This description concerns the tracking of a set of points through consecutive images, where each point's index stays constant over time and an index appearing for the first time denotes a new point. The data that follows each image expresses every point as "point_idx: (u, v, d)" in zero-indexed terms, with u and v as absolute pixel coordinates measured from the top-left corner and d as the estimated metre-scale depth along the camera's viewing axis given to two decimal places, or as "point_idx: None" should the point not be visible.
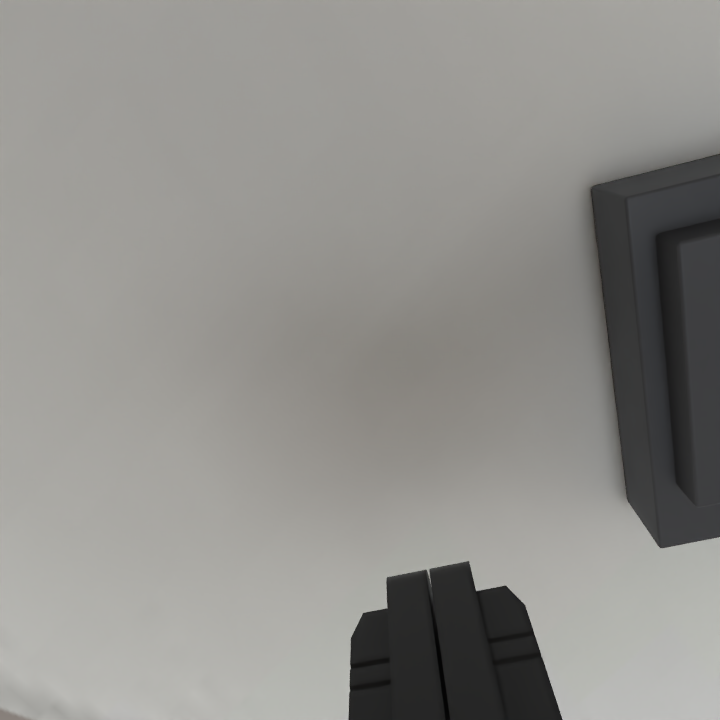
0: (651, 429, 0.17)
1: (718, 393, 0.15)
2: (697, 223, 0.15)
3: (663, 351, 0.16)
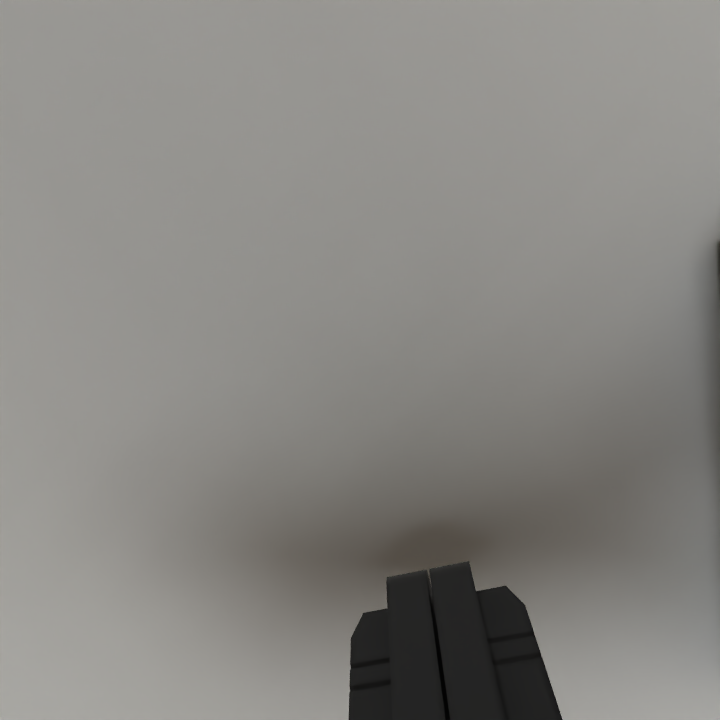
0: None
1: None
2: None
3: None
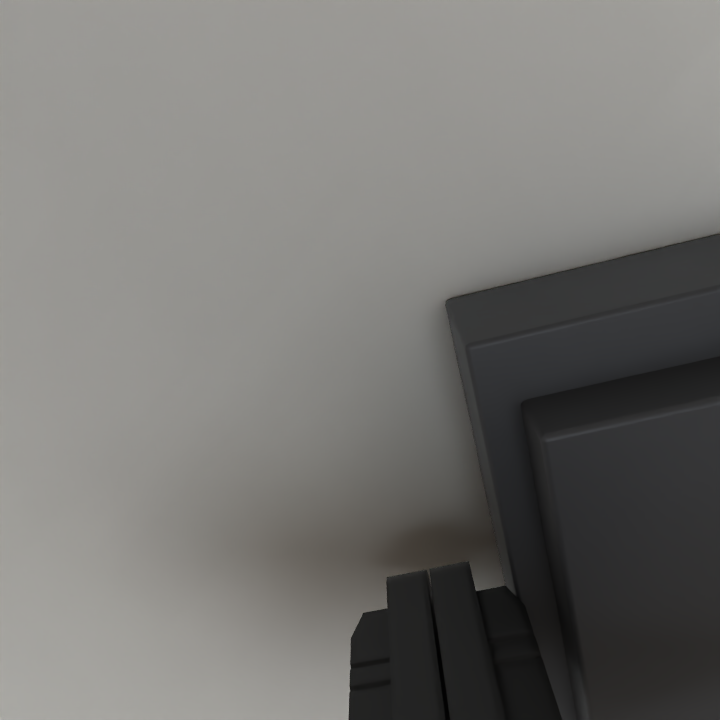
0: None
1: (627, 656, 0.09)
2: (589, 384, 0.09)
3: (548, 569, 0.10)
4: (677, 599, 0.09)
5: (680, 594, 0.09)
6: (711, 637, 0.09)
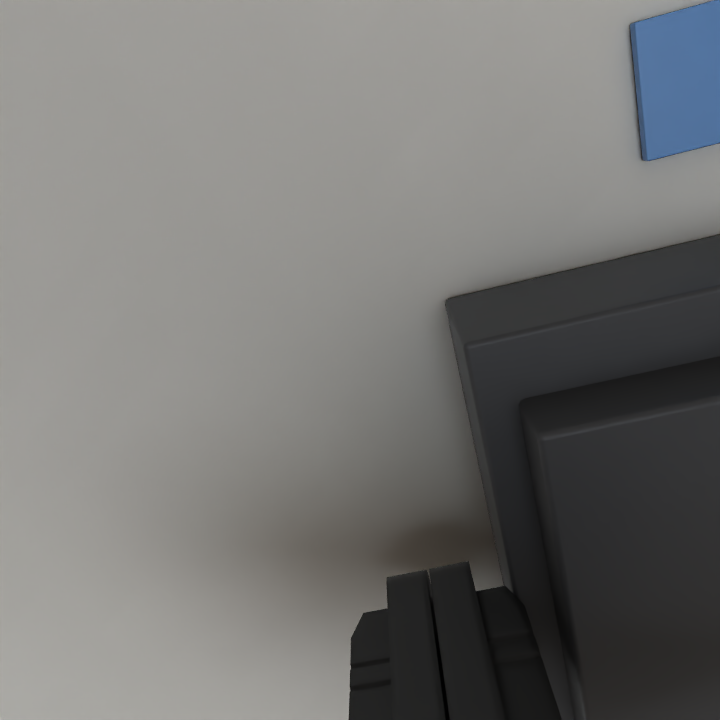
0: None
1: (623, 655, 0.09)
2: (587, 385, 0.09)
3: (545, 568, 0.10)
4: (673, 599, 0.09)
5: (677, 594, 0.09)
6: (707, 637, 0.09)
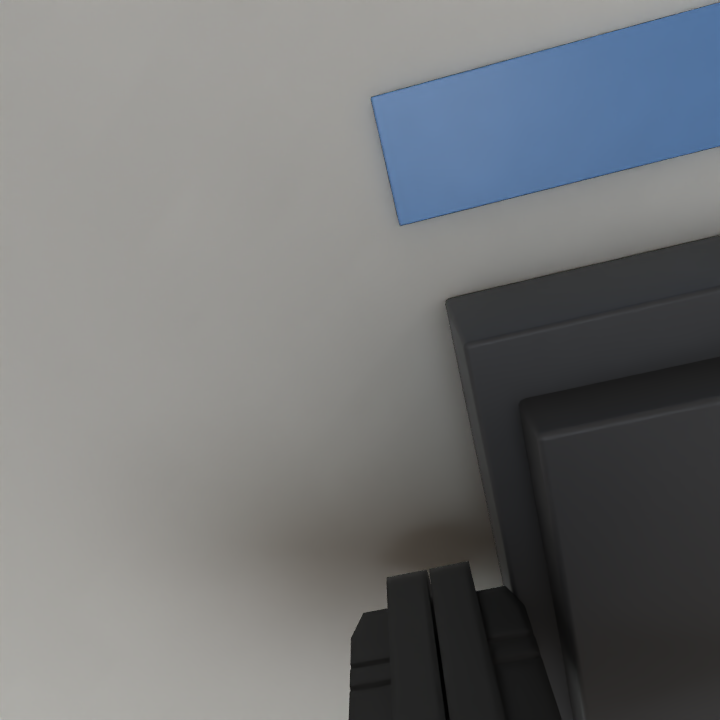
0: None
1: (622, 655, 0.09)
2: (587, 384, 0.09)
3: (545, 569, 0.10)
4: (673, 599, 0.09)
5: (676, 595, 0.09)
6: (707, 637, 0.09)
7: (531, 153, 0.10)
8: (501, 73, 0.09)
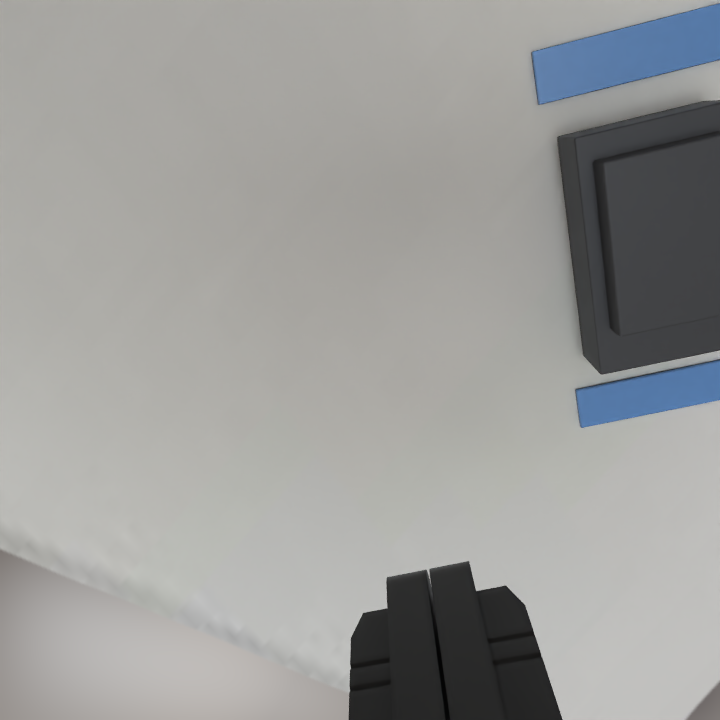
0: (593, 289, 0.26)
1: (630, 258, 0.25)
2: (618, 154, 0.24)
3: (599, 237, 0.25)
4: (649, 232, 0.24)
5: (650, 230, 0.24)
6: (661, 249, 0.24)
7: (593, 74, 0.25)
8: (583, 43, 0.25)
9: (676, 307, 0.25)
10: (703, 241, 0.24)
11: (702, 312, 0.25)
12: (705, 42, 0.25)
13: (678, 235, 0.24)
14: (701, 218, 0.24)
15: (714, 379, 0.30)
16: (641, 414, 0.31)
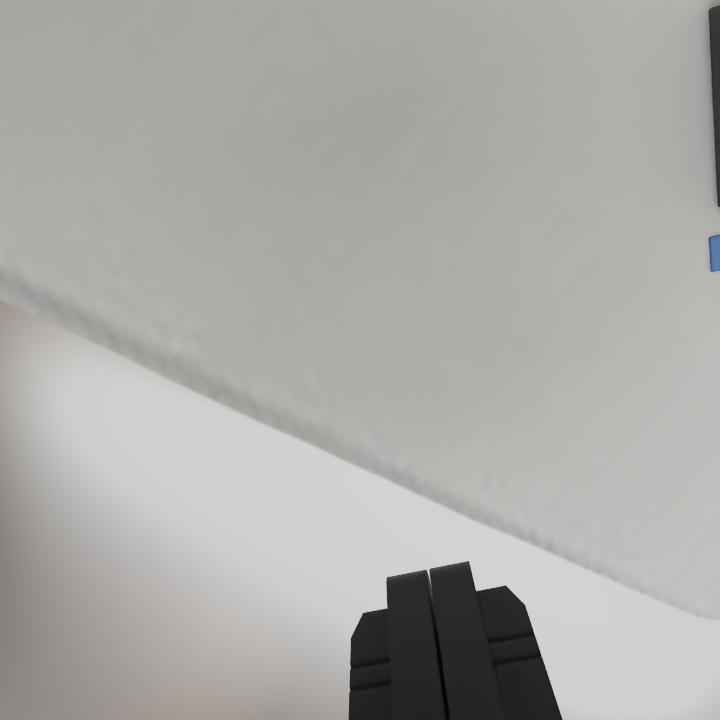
0: None
1: None
2: None
3: None
4: None
5: None
6: None
7: None
8: None
9: None
10: None
11: None
12: None
13: None
14: None
15: None
16: None
